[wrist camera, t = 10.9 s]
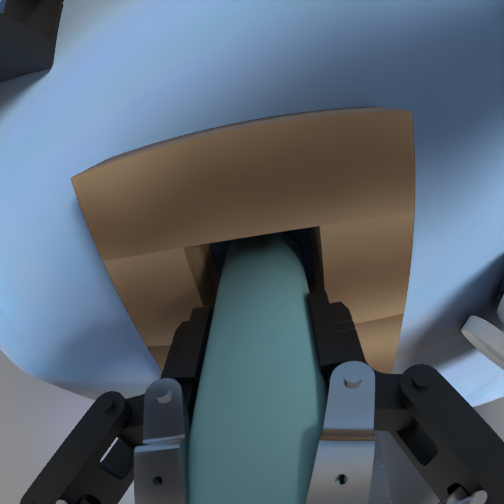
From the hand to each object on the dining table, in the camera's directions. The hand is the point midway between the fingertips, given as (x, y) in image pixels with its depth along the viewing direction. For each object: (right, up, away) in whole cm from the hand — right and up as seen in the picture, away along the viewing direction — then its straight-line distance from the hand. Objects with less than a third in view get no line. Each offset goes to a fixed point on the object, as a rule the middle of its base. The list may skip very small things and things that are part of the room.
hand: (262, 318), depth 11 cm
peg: (0, +2, +4) cm, 4 cm away
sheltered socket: (+1, -1, +7) cm, 7 cm away
